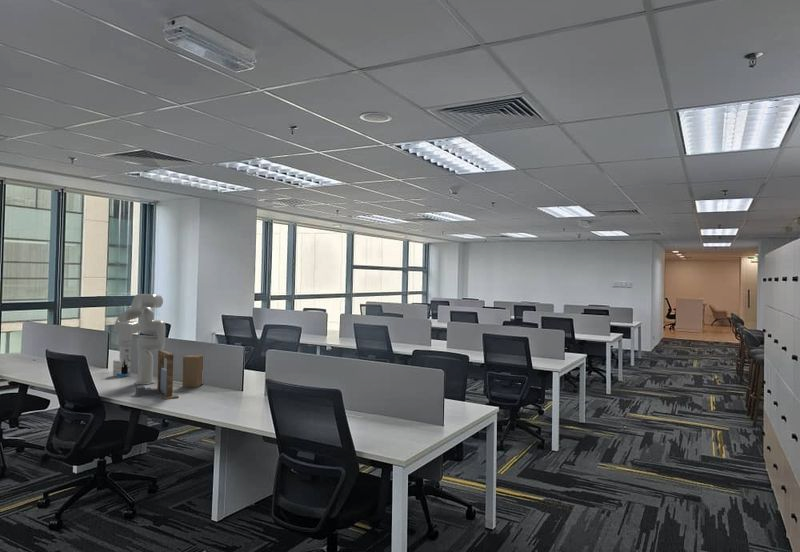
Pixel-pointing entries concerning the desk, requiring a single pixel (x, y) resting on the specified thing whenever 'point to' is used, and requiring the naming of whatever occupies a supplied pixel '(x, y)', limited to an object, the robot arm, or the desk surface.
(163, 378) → the door leaf
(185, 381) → the wooden block
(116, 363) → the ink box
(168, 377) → the door frame
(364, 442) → the desk surface
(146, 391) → the wedge
